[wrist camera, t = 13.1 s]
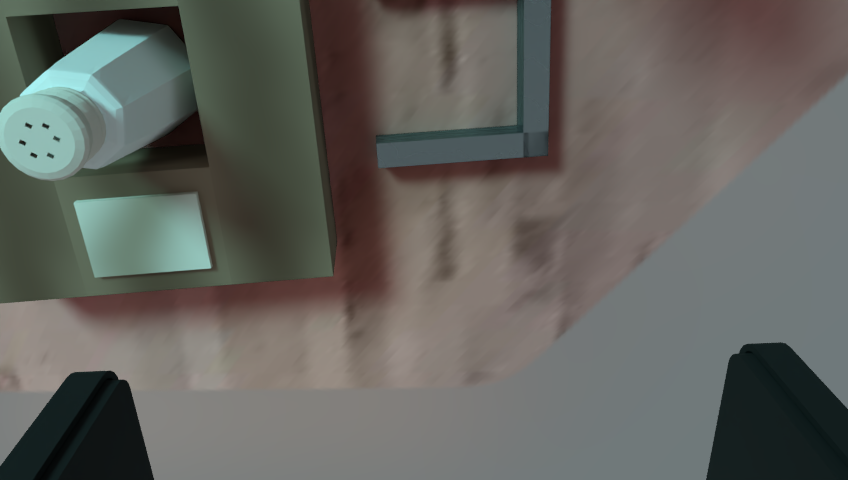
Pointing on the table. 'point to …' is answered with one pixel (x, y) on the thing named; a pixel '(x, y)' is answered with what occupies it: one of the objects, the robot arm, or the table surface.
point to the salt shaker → (100, 102)
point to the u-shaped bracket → (492, 141)
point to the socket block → (179, 166)
